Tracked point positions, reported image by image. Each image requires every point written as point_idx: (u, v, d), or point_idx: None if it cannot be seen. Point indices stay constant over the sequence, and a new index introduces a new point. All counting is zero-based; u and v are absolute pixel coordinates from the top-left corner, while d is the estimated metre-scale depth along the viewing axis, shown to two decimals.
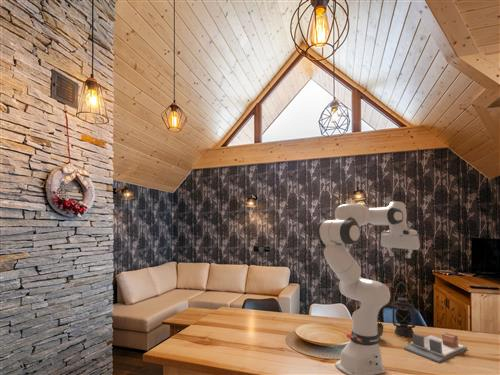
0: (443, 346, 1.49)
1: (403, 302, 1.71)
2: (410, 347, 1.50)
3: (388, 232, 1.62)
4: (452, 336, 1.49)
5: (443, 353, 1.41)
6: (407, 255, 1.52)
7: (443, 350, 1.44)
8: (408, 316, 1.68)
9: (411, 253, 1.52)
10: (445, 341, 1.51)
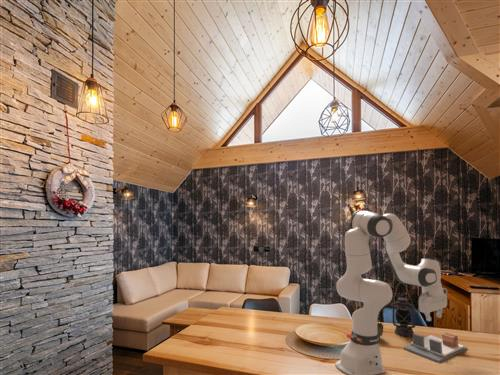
0: (443, 346, 1.49)
1: (403, 302, 1.71)
2: (410, 347, 1.50)
3: (426, 294, 1.43)
4: (452, 336, 1.49)
5: (443, 353, 1.41)
6: (440, 315, 1.47)
7: (443, 350, 1.44)
8: (408, 316, 1.68)
9: None
10: (445, 341, 1.51)
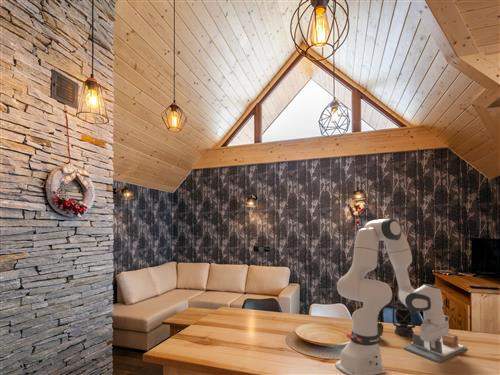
0: (443, 346, 1.49)
1: None
2: (410, 347, 1.50)
3: (428, 322, 1.42)
4: (452, 336, 1.49)
5: (443, 353, 1.41)
6: None
7: (443, 350, 1.44)
8: (408, 316, 1.68)
9: (436, 340, 1.46)
10: (445, 341, 1.51)
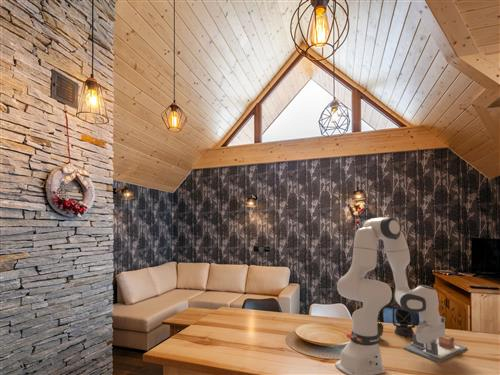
0: (440, 347, 1.47)
1: None
2: (410, 347, 1.50)
3: (424, 323, 1.40)
4: (448, 338, 1.47)
5: (439, 355, 1.39)
6: None
7: (439, 352, 1.42)
8: (408, 316, 1.68)
9: None
10: (441, 343, 1.49)
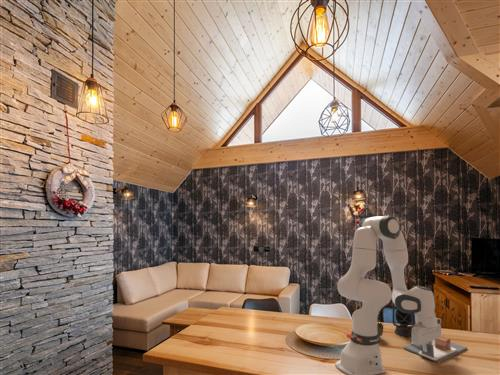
0: (436, 349, 1.45)
1: None
2: (410, 347, 1.50)
3: (420, 325, 1.38)
4: (445, 339, 1.46)
5: (435, 357, 1.37)
6: None
7: (435, 354, 1.41)
8: (408, 316, 1.68)
9: (428, 343, 1.42)
10: (437, 344, 1.47)
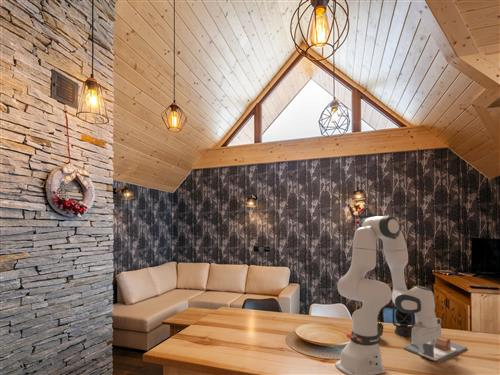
0: (436, 349, 1.45)
1: None
2: (410, 347, 1.50)
3: (420, 325, 1.38)
4: (444, 339, 1.46)
5: (435, 357, 1.37)
6: (434, 346, 1.42)
7: (435, 354, 1.41)
8: (408, 316, 1.68)
9: None
10: (437, 344, 1.47)
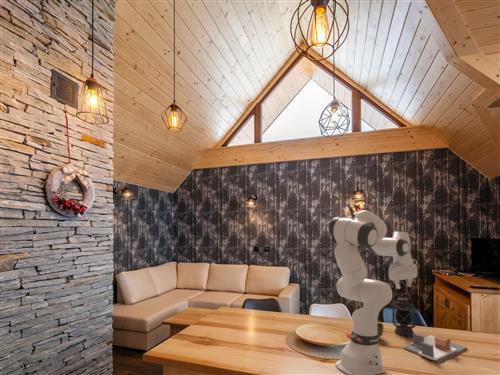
0: (436, 349, 1.45)
1: (403, 302, 1.71)
2: (410, 347, 1.50)
3: (396, 263, 1.53)
4: (444, 339, 1.46)
5: (435, 357, 1.37)
6: (410, 284, 1.56)
7: (435, 354, 1.41)
8: (408, 316, 1.68)
9: None
10: (437, 344, 1.47)
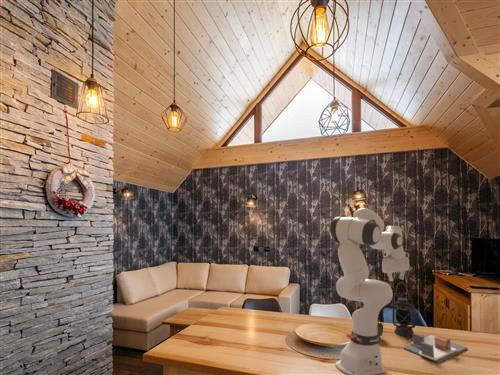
0: (436, 349, 1.45)
1: (403, 302, 1.71)
2: (410, 347, 1.50)
3: (389, 257, 1.57)
4: (444, 339, 1.46)
5: (435, 357, 1.37)
6: (402, 277, 1.61)
7: (435, 354, 1.41)
8: (408, 316, 1.68)
9: None
10: (437, 344, 1.47)
